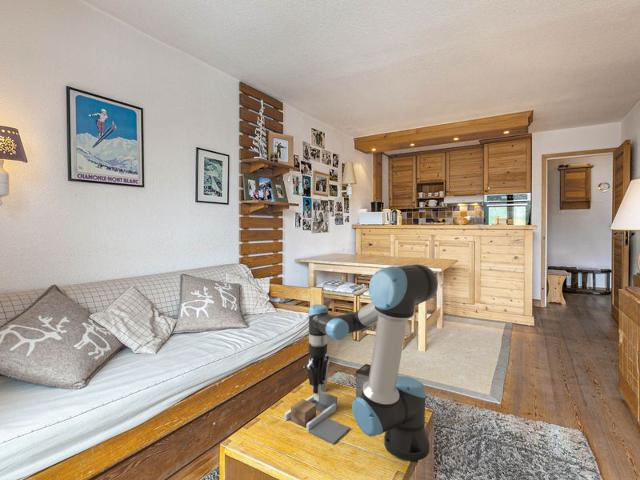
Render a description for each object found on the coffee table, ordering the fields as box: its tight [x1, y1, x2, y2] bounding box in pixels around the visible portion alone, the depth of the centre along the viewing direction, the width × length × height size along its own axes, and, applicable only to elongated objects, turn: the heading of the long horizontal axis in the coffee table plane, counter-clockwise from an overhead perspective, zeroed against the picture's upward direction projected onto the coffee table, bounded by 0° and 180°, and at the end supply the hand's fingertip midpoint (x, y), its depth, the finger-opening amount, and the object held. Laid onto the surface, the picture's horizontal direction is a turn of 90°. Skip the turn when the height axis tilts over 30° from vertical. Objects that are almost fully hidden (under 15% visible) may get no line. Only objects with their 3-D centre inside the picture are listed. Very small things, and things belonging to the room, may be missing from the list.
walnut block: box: [290, 398, 317, 428], centre depth 133 cm, size 7×7×6 cm
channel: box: [283, 391, 338, 432], centre depth 137 cm, size 12×19×5 cm, turn 143°
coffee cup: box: [308, 354, 331, 392], centre depth 158 cm, size 10×10×15 cm
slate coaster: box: [308, 417, 351, 445], centre depth 126 cm, size 11×11×1 cm
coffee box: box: [355, 363, 371, 399], centre depth 143 cm, size 9×6×16 cm
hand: (317, 399), depth 140 cm, fingers closed
